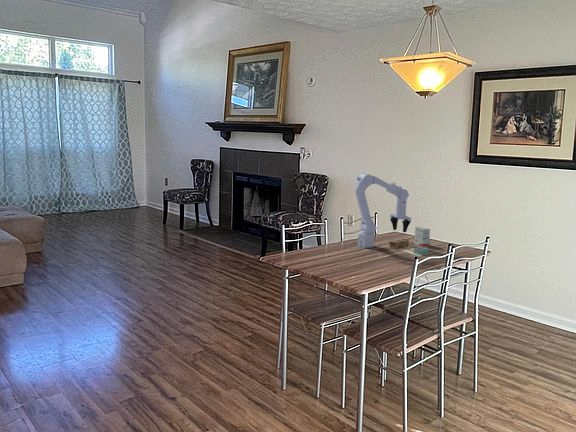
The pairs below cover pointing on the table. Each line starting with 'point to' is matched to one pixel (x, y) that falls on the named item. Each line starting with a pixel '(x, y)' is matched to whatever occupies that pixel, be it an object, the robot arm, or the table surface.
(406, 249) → the board
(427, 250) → the end cap
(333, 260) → the table surface
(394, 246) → the brown rectangular block
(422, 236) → the ink box
